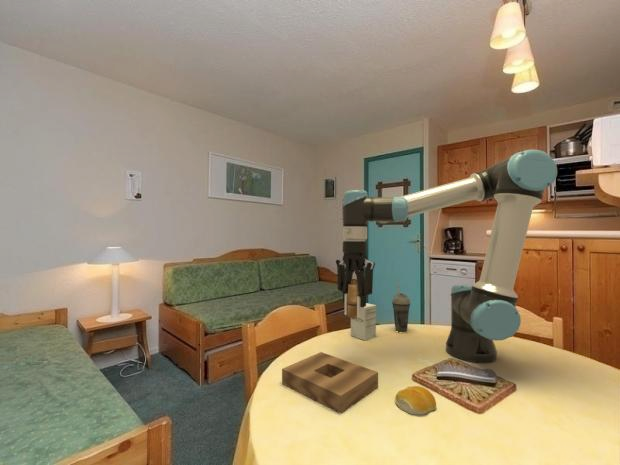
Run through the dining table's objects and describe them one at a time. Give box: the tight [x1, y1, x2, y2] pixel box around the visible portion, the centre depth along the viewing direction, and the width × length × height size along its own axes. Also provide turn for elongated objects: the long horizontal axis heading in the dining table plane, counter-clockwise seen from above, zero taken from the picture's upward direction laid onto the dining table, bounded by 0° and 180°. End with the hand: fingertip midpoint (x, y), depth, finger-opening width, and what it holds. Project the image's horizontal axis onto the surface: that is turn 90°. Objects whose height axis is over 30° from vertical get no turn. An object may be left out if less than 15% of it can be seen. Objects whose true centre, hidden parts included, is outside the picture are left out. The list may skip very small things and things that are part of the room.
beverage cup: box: [391, 282, 411, 333], centre depth 126 cm, size 7×7×20 cm
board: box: [281, 351, 379, 414], centre depth 81 cm, size 20×16×4 cm
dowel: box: [347, 282, 359, 319], centre depth 95 cm, size 4×4×10 cm
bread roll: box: [394, 385, 437, 416], centre depth 72 cm, size 8×9×4 cm
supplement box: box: [350, 302, 377, 341], centre depth 120 cm, size 7×7×13 cm
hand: (354, 315), depth 94 cm, fingers closed on dowel, 4 cm apart
